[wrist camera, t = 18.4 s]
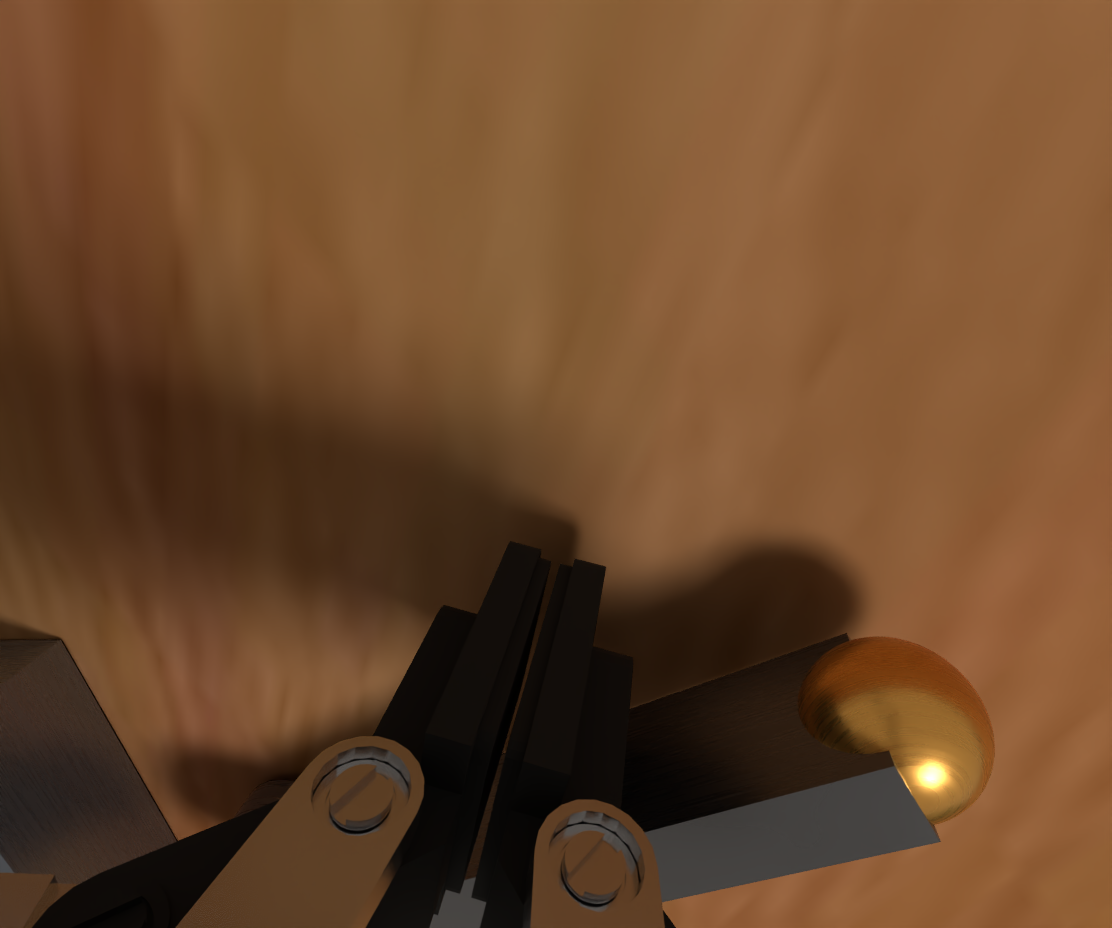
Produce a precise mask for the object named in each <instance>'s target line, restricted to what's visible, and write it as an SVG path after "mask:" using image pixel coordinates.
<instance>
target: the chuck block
mask: <svg viewBox="0 0 1112 928" xmlns="http://www.w3.org/2000/svg"><path fill="white" fill-rule="evenodd" d="M174 842H177V841H176V839H175V837H174V836H173V834H172V832H171V831H170V829H169V827H168V825H167V824H166V822H165V820H164V818H163V817H162V815H161V813H160V811H159V810H158V808H157V806H156V804H155V803H154V801H153V799H152V798H151V796H150V794H149V792H148V791H147V789H146V787H145V785H144V784H143V782H142V780H141V778H140V777H139V775H138V773H137V771H136V770H135V768H134V766H133V765H132V763H131V761H130V759H129V758H128V756H127V754H126V752H125V751H124V749H123V747H122V745H121V744H120V742H119V740H118V738H117V737H116V735H115V733H114V732H113V730H112V728H111V726H110V725H109V723H108V721H107V719H106V718H105V716H104V714H103V712H102V711H101V709H100V707H99V706H98V704H97V702H96V700H95V699H94V697H93V695H92V693H91V692H90V690H89V688H88V686H87V685H86V683H85V681H84V679H83V678H82V676H81V674H80V673H79V671H78V669H77V667H76V666H75V664H74V662H73V660H72V659H71V657H70V655H69V653H68V652H67V650H66V648H65V646H64V645H63V643H62V641H61V640H0V873H26V874H52V875H55V877H56V881H57V883H58V884H80V883H82V882H84V881H86V880H88V879H89V878H91V877H93V876H95V875H97V874H99V873H101V872H104V871H106V870H108V869H111V868H113V867H116V866H118V865H121V864H123V863H126V862H128V861H130V860H133V859H135V858H138V857H140V856H143V855H145V854H148V853H150V852H152V851H155V850H157V849H160V848H162V847H165V846H167V845H169V844H172V843H174Z"/></svg>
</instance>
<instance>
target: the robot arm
mask: <svg viewBox="0 0 1112 928" xmlns="http://www.w3.org/2000/svg"><path fill="white" fill-rule="evenodd" d="M540 555H541V549H538V548H534V547H530V546H527V545H523V544H519V543H515V542H512V541H510V542H509V544H508V546H507V549H506V551H505V553H504V556H503V558H502V560H501V562H500V565H499V567H498V569H497V571H496V574H495V576H494V578H493V581H492V583H491V585H490V587H489V590H488V592H487V594H486V596H485V599H484V601H483V603H482V606H481V608H480V610H479V612H478V614H475V613H471V612H467V611H464V610H460V609H456V608H453V607H449V606H446V605H444V606H443V607H441V609H440V610H439V612H438V614H437V615H436V617H435V619H434V621H433V623H432V625H431V627H430V629H429V631H428V632H427V634H426V636H425V638H424V640H423V642H422V644H421V646H420V648H419V649H418V651H417V653H416V655H415V657H414V659H413V661H412V663H411V665H410V667H409V668H408V670H407V672H406V674H405V676H404V678H403V680H402V682H401V684H400V685H399V687H398V689H397V691H396V693H395V695H394V697H393V699H392V701H391V702H390V704H389V706H388V708H387V710H386V712H385V714H384V716H383V718H382V720H381V721H380V723H379V725H378V727H377V729H376V731H375V733H374V735H373V736H358V737H354V738H350V739H346V740H342V741H340V742H338V743H336V744H334V745H332V746H331V747H329V748H327V749H325V750H324V751H322V752H321V753H320V754H319V755H318V756H317V757H316V758H315V759H314V760H313V761H312V762H311V763H310V764H309V765H308V766H307V767H306V769H305V770H304V771H303V772H302V773H301V775H300V776H299V777H298V778H297V780H296V781H295V782H294V783H293V784H292V786H291V787H290V788H289V789H288V791H287V792H286V793H285V794H284V795H283V797H282V798H281V799H279V800H277V801H274V802H272V803H270V804H267V805H265V806H262V807H260V808H257V809H255V810H253V811H250V812H248V813H245V814H243V815H240V816H238V817H235V818H233V819H231V820H228V821H226V822H223V823H221V824H218V825H216V826H213V827H211V828H209V829H206V830H204V831H201V832H199V833H196V834H194V835H191V836H189V837H187V838H184V839H182V840H179V841H177V842H174V843H172V844H169V845H167V846H165V847H162V848H160V849H157V850H155V851H152V852H150V853H148V854H145V855H143V856H140V857H138V858H135V859H133V860H130V861H128V862H126V863H123V864H121V865H118V866H116V867H113V868H111V869H108V870H106V871H104V872H101V873H99V874H97V875H95V876H93V877H91V878H89V879H88V880H86V881H84V882H82V883H80V884H58V883H57V881H56V877H55V875H52V874H26V873H0V928H429V927H430V924H431V921H432V918H433V915H434V914H435V915H438V913H439V910H440V907H441V904H442V901H443V897H444V894H445V891H446V890H448V891H452V892H455V893H458V894H460V892H461V889H462V886H463V883H464V880H465V876H466V873H467V870H468V866H469V863H470V859H471V856H472V853H473V849H474V846H475V843H476V839H477V836H478V832H479V829H480V826H481V822H482V819H483V815H484V812H485V809H486V805H487V802H488V799H489V795H490V792H491V788H492V785H493V782H494V778H495V775H496V771H497V768H498V765H499V761H500V758H501V755H502V751H503V748H504V744H505V741H506V738H507V734H508V731H509V727H510V724H511V721H512V717H513V714H514V711H515V707H516V704H517V700H518V697H519V693H520V690H521V686H522V682H523V679H524V674H525V670H526V666H527V662H528V658H529V654H530V649H531V645H532V641H533V637H534V633H535V628H536V624H537V620H538V616H539V612H540V608H541V603H542V599H543V595H544V591H545V587H546V582H547V578H548V574H549V570H550V566H551V561H549V560H545V559H542V558H540ZM605 570H606V567H605V566H601V565H597V564H594V563H590V562H586V561H582V560H579V559H574V563H573V567H571V566H567V565H564V564H560V566H559V569H558V573H557V576H556V580H555V583H554V587H553V590H552V594H551V597H550V600H549V604H548V607H547V611H546V614H545V618H544V621H543V625H542V628H541V632H540V635H539V639H538V642H537V646H536V649H535V653H534V656H533V659H532V663H531V666H530V670H529V673H528V677H527V680H526V684H525V687H524V691H523V694H522V698H521V701H520V705H519V708H518V712H517V715H516V718H515V722H514V725H513V729H512V732H511V736H510V740H509V743H508V747H507V751H506V754H505V758H504V762H503V766H502V770H501V774H500V778H499V782H498V787H497V791H496V795H495V799H494V803H493V808H492V812H491V816H490V820H489V824H488V829H487V833H486V837H485V841H484V845H483V849H482V854H481V858H480V862H479V866H478V870H477V875H476V879H475V883H474V887H473V891H472V896H471V898H474V899H477V900H480V901H483V902H486V905H485V909H484V913H483V917H482V921H481V925H480V928H676V927H675V926H674V925H673V923H672V922H671V920H670V919H669V918H668V916H667V915H666V913H665V912H664V911H663V908H662V899H661V890H660V882H659V873H658V866H657V862H656V858H655V854H654V851H653V847H652V845H651V843H650V842H649V840H648V838H647V836H646V835H645V833H644V831H643V829H642V828H641V827H640V826H639V825H638V824H637V823H636V822H635V821H634V820H633V819H632V818H631V817H630V816H629V815H628V814H626V813H625V812H623V811H621V802H622V790H623V778H624V767H625V755H626V743H627V732H628V720H629V708H630V697H631V685H632V673H633V658H632V657H630V656H626V655H622V654H619V653H615V652H612V651H608V650H604V649H601V648H597V647H593V640H594V634H595V628H596V623H597V617H598V611H599V605H600V599H601V594H602V588H603V582H604V576H605Z"/></svg>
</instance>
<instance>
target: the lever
mask: <svg viewBox="0 0 1112 928" xmlns="http://www.w3.org/2000/svg"><path fill="white" fill-rule="evenodd" d="M505 754H506V753H503V754H502V755H501V758H500V761H499V765H498V768H497V771H496V775H495V778H494V782H493V785H492V788H491V792H490V795H489V799H488V802H487V805H486V809H485V812H484V815H483V819H482V822H481V826H480V829H479V832H478V836H477V839H476V843H475V846H474V849H473V853H472V856H471V859H470V863H469V866H468V870H467V873H466V876H465V880H464V883H463V886H462V889H461V892H460V894H458V893H455V892H452V891H448V890H446V891H445V894H444V897H443V901H442V904H441V907H440V910H439V913H438V915H435V914H434V915H433V918H432V921H431V924H430V927H429V928H480V925H481V921H482V917H483V913H484V909H485V905H486V902H483V901H480V900H477V899H474V898H471V896H472V891H473V887H474V883H475V879H476V875H477V870H478V866H479V862H480V858H481V854H482V849H483V845H484V841H485V837H486V833H487V829H488V824H489V820H490V816H491V812H492V808H493V803H494V799H495V795H496V791H497V787H498V782H499V778H500V774H501V770H502V766H503V762H504V758H505ZM994 755H995V745H994V735H993V730H992V726H991V722H990V718H989V716H988V713H987V711H986V709H985V706H984V704H983V702H982V700H981V698H980V697H979V695H978V694H977V692H976V691H975V689H974V688H973V686H972V685H971V683H970V682H969V681H968V680H967V679H966V678H965V677H964V676H963V675H962V674H961V673H960V672H959V671H958V670H957V669H956V668H955V667H954V666H953V665H951V664H950V663H949V662H948V661H946V660H945V659H944V658H942V657H941V656H939V655H938V654H936V653H934V652H933V651H931V650H929V649H927V648H925V647H922V646H920V645H918V644H915V643H912V642H909V641H905V640H901V639H897V638H891V637H864V638H859V639H854V640H850V638H849V636H848V635H847V633H845V634H842V635H840V636H837V637H834V638H831V639H828V640H825V641H823V642H820V643H817V644H814V645H811V646H808V647H805V648H803V649H800V650H797V651H794V652H791V653H788V654H785V655H783V656H780V657H777V658H774V659H771V660H768V661H766V662H763V663H760V664H757V665H754V666H751V667H748V668H746V669H743V670H740V671H737V672H734V673H731V674H728V675H726V676H723V677H720V678H717V679H714V680H711V681H708V682H706V683H703V684H700V685H697V686H694V687H691V688H689V689H686V690H683V691H680V692H677V693H674V694H671V695H669V696H666V697H663V698H660V699H657V700H654V701H651V702H649V703H646V704H643V705H640V706H637V707H634V708H631V709H629V720H628V732H627V743H626V755H625V767H624V778H623V790H622V802H621V811H623V812H625V813H626V814H628V815H629V816H630V817H631V818H632V819H633V820H634V821H635V822H636V823H637V824H638V825H639V826H640V827H641V828H642V829H643V831H644V833H645V835H646V836H647V838H648V840H649V842H650V843H651V845H652V847H653V851H654V854H655V858H656V862H657V866H658V873H659V882H660V890H661V899H662V902H665V901H670V900H674V899H679V898H683V897H688V896H693V895H697V894H702V893H707V892H711V891H716V890H720V889H725V888H730V887H734V886H739V885H743V884H748V883H753V882H757V881H762V880H767V879H771V878H776V877H780V876H785V875H790V874H794V873H799V872H803V871H808V870H813V869H817V868H822V867H826V866H831V865H836V864H840V863H845V862H850V861H854V860H859V859H863V858H868V857H873V856H877V855H882V854H886V853H891V852H896V851H900V850H905V849H910V848H914V847H919V846H923V845H928V844H933V843H937V842H941V841H940V839H939V836H938V834H937V831H936V829H935V826H934V825H936V824H939V823H943V822H945V821H948V820H950V819H952V818H954V817H956V816H958V815H959V814H961V813H962V812H964V811H965V810H966V809H968V808H969V807H970V806H971V805H972V804H973V803H974V802H975V801H976V800H977V799H978V797H979V796H980V795H981V793H982V792H983V790H984V789H985V787H986V785H987V782H988V780H989V777H990V775H991V772H992V768H993V762H994ZM294 782H295V781H289V780H275V781H269V782H266V783H263V784H261V785H259V786H258V787H256V788H255V789H254V790H253V791H252V792H251V794H250V795H249V797H248V798H247V800H246V801H245V803H244V804H243V806H242V807H241V809H240V810H239V811H238V813H237V814H236V816H235V817H238V816H240V815H243V814H245V813H248V812H250V811H253V810H255V809H257V808H260V807H262V806H265V805H267V804H270V803H272V802H274V801H277V800H279V799H281V798H282V797H283V795H284V794H285V793H286V792H287V791H288V789H289V788H290V787H291V786H292V784H293V783H294ZM235 817H234V818H235Z"/></svg>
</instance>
